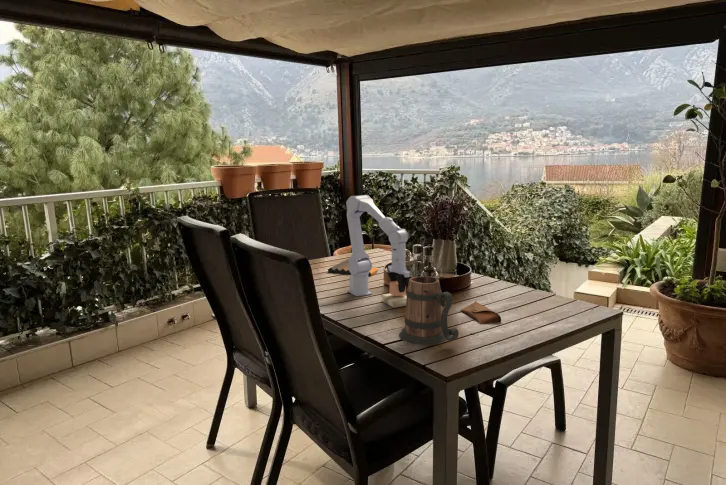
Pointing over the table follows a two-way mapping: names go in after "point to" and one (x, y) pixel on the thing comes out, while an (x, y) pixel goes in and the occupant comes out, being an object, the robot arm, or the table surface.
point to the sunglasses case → (481, 314)
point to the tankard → (427, 313)
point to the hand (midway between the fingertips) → (398, 290)
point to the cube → (396, 289)
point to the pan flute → (347, 268)
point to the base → (394, 300)
